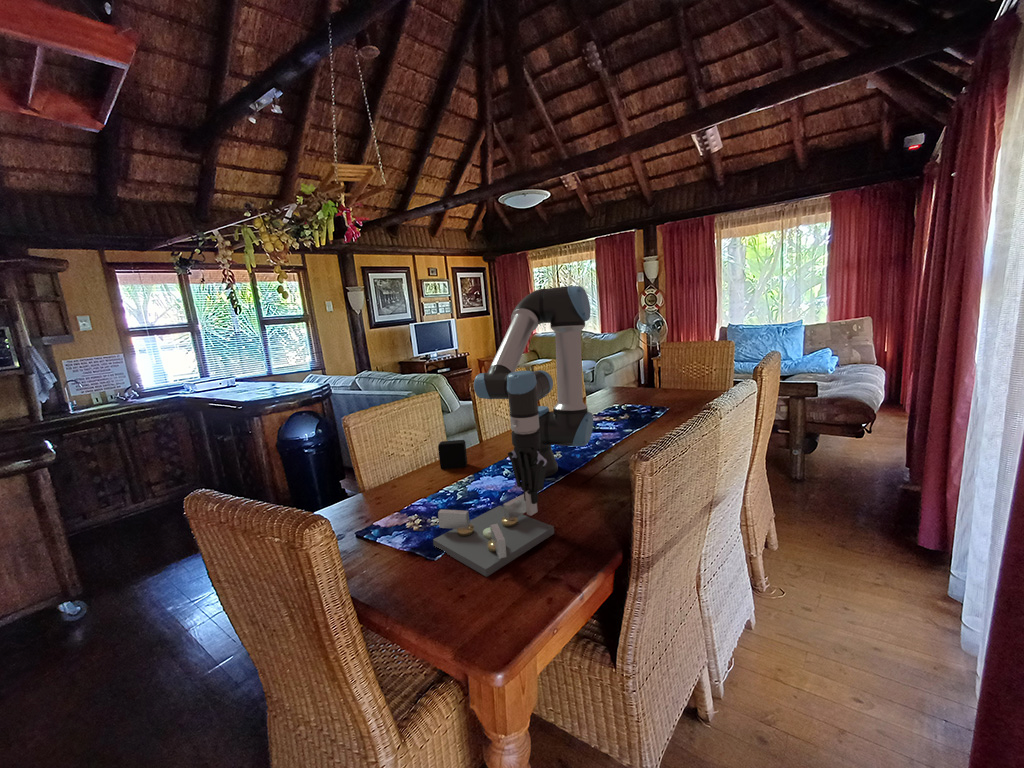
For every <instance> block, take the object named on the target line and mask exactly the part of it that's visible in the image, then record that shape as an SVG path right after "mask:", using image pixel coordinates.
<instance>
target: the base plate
mask: <svg viewBox="0 0 1024 768" xmlns="http://www.w3.org/2000/svg"><path fill="white" fill-rule="evenodd" d="M503 517H504V507H503V505H498V506H496V507H494V508H492V509H489V510H487V511H486V512H484V513H481V514H480V515H478V516H476V517H474V518H471V519H469V521H470V524H472V525H473V526H474V532H473V533H472V534H471V535H468V536H460V535H458V533H457V529H450V530H449V531H447V532H445V533H442V534H440V535H439V536H437V537H435V538H433V539H432V542H433V544H432V545H433V547H434V546H435V547H434V548H436V547H437V548H439V549H441V550H443V551H445V552H446V553H447V554H446V553H445V554H446V555H448V556H449V555H450V557H451V558H453V559H455V560H456V561H458V562H460V563H461V564H463V565H464V566H467V567H468V568H470V569H472V570H474V571H475V572H477V573H479V574H481V575H482V576H484V577H486V578H487V577H490V575H491V576H492V574H494V573H495V572H497V571H498V570H500V569H501V568H503V567H504V566H506V565H507V564H509V563H511V562H512V561H514V560H516V559H517V558H519V557H520V556H522V555H523V554H525V553H527V552H528V551H530V550H531V549H532V548H534V547H536V546H537V545H539V544H540V543H541V542H544V541H546V539H548V538H550V537H551V536H553V535H554V534H555V528H554V527H555V526H554V525H550V524H548V523H547V522H546V523H545V522H543V521H541V520H538V519H536V518H533V517H532V516H531V517H530V516H529V515H527V514H526V515H525V514H524V513H523V514H521V515H520V516H518V517H517V518H518V524H517V525H515V526H512V527H505V526H503V525H502V518H503ZM493 524H498V526H499V528H500V530H501V532H502V534H503V536H504V539H505V545H506V556H507V557H504V558H500V559H499V557H498V555H497V553H496V552H491V551H489V550H488V545H487V543H488V541H489V540H491V539H492V538H491V528H490V525H493ZM437 548H436V549H437ZM439 549H438V550H439ZM441 550H440V551H441Z"/></svg>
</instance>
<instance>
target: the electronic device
mask: <svg viewBox="0 0 1024 768" xmlns="http://www.w3.org/2000/svg"><path fill="white" fill-rule="evenodd" d="M437 449H438V450H437V451H438V458H439V459H438V460H439V466H440V469H441V470H453V469H454V470H455V469H465V468H466V467H467V465H468V453H467V447H466V441H465V440H464V439H458V440H457V439H456V440H455V439H454V440H442V441H440V442H439V443H438V445H437Z"/></svg>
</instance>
